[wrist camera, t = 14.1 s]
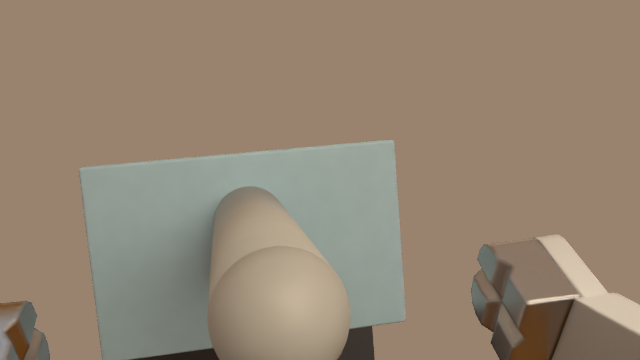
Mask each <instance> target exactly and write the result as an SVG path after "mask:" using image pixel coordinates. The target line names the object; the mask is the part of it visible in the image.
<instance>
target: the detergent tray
mask: <svg viewBox="0 0 640 360" xmlns="http://www.w3.org/2000/svg"><path fill="white" fill-rule="evenodd" d="M79 176H80V184H81V192H82V200H83V209H84V217H85V225H86V233H87V240H88V249H89V257H90V265H91V273H92V281H93V289H94V297H95V305H96V314H97V322H98V329H99V338H100V345H101V354H102V360H132V359H139V358H147V357H154V356H161V355H168V354H175V353H182V352H189V351H197V350H204V349H211V348H214V350H215V352H216V354H217V356H218V358H219V359H220V360H337V359H338V358H339V356H340V355H341V353H342V351H343V348H344V346H345V344H346V342H347V338H348V333H349V329H354V328H361V327H368V326H375V325H382V324H389V323H397V322H404V321H406V311H405V296H404V281H403V268H402V252H401V239H400V238H401V237H400V223H399V209H398V193H397V179H396V164H395V149H394V141H392V140H381V141H370V142H359V143H347V144H336V145H325V146H314V147H303V148H291V149H279V150H268V151H257V152H246V153H234V154H224V155H212V156H201V157H189V158H178V159H167V160H156V161H144V162H133V163H123V164H111V165H100V166H88V167H83V168H80V169H79Z"/></svg>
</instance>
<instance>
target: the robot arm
mask: <svg viewBox="0 0 640 360" xmlns="http://www.w3.org/2000/svg"><path fill="white" fill-rule="evenodd" d="M477 260H478V262H479V264H480V265H481V267H482V269H481V270H480V271H479V272H478V273H477V274H476V275H475V276H474V277H473V282H472V288H471V293H472V303H473V306H474V310H475V313H476V315H477V317H478V319H479V321H480V323H481V324H482V325H483V326H485V327H486V328H488V329H489V330H491V331H492V332H494V333H493V337H492V341H491V344H492V345H493V347H494V349H495V351H496V353H497V355H498V357H499V359H500V360H640V305H639V304H637V303H635V302H633V301H631V300H629V299H627V298H625V297H623V296H621V295H620V294H618V293H608V292H607V291H606V290H605V288H604V287H603V286H602V285H601V283H600V282H599V281H598V280H597V279H596V277H595V276H594V275H593V274H592V272H591V271H590V270H589V269H588V267H587V266H586V265H585V264H584V262H583V261H582V260H581V259H580V257H579V256H578V255H577V254H576V252H575V251H574V250H573V249H572V248H571V246H570V245H569V244H568V243H567V241H566V240H565V239H564V238H563V237H561V236H559V235H558V234H557V235H551V236H542V237H536V238H532V239H530V238H529V239H521V240H513V241H506V242H498V243H491V244H484V245H483V246H482V248H481V249H480V251H479V255H478V259H477ZM36 318H37V314H36V312H35V310H34V307H33V305H32V303H31V302H28V301H20V302H10V303H0V360H50V353H49V349H48V343H47V340H46V337H45V335H44V333H43V332H41V331H39V330H38V329H36V328H34V326H35V322H36Z"/></svg>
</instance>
